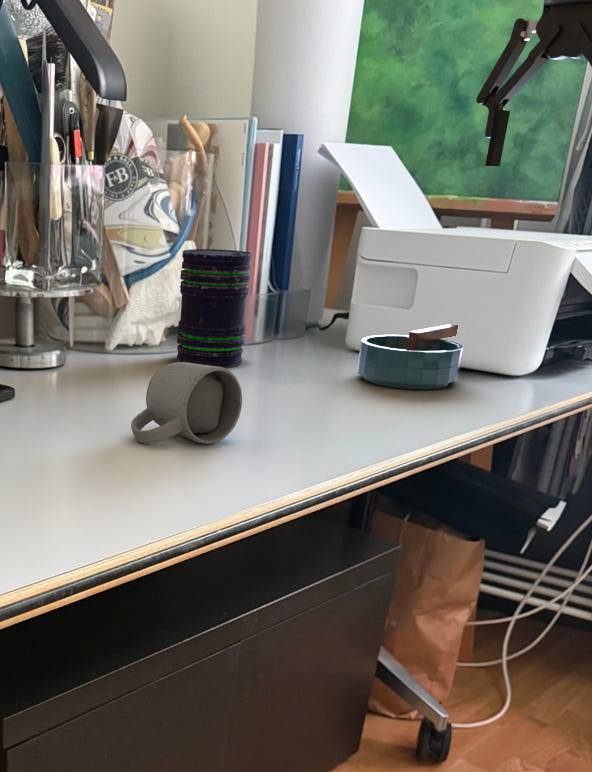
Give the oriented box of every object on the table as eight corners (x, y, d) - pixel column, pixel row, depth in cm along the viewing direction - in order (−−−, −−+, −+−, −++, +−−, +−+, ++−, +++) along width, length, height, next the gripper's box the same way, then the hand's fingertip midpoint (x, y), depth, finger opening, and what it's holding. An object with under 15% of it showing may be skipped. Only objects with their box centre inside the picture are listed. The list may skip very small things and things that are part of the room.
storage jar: (167, 364, 135) (173, 252, 128) (184, 353, 143) (190, 248, 136) (235, 370, 132) (245, 256, 125) (248, 358, 140) (258, 251, 134)
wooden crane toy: (442, 355, 140) (451, 306, 137) (480, 361, 136) (490, 311, 133) (376, 370, 128) (384, 317, 125) (416, 377, 125) (425, 323, 121)
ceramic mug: (192, 422, 104) (196, 351, 101) (241, 439, 98) (246, 364, 95) (114, 436, 99) (115, 361, 96) (160, 454, 93) (163, 376, 90)
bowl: (462, 378, 131) (470, 341, 129) (446, 395, 121) (453, 355, 119) (369, 367, 137) (374, 332, 134) (345, 383, 126) (350, 345, 124)
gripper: (470, -27, 116) (439, 165, 126) (688, -53, 100) (634, 168, 110) (497, -18, 121) (465, 166, 130) (710, -42, 105) (656, 169, 115)
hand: (542, 167), depth 120 cm, fingers open, 13 cm apart
